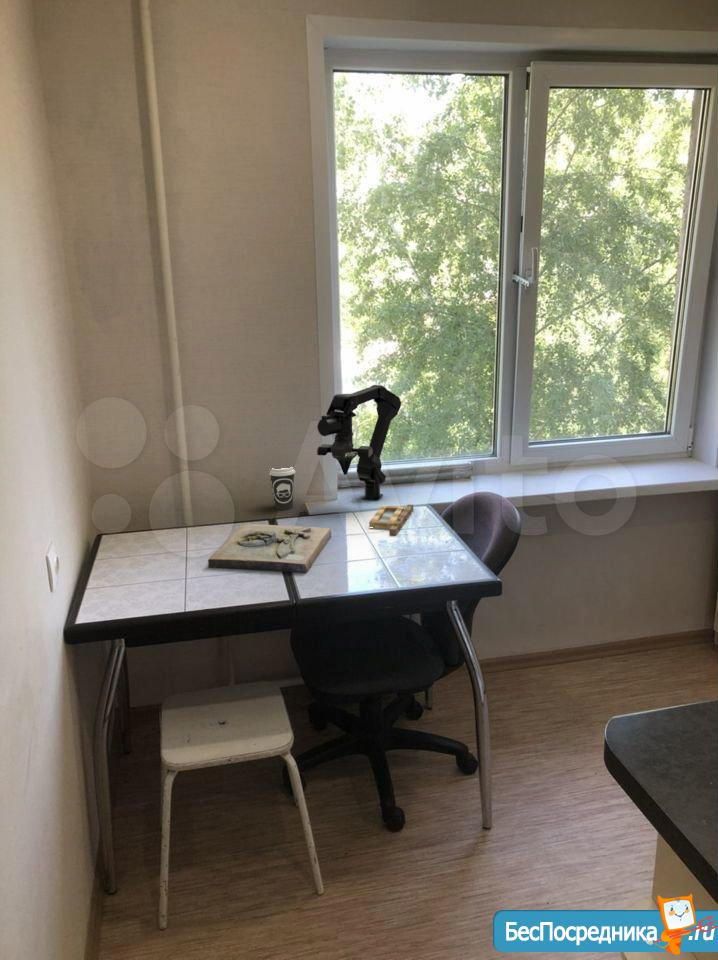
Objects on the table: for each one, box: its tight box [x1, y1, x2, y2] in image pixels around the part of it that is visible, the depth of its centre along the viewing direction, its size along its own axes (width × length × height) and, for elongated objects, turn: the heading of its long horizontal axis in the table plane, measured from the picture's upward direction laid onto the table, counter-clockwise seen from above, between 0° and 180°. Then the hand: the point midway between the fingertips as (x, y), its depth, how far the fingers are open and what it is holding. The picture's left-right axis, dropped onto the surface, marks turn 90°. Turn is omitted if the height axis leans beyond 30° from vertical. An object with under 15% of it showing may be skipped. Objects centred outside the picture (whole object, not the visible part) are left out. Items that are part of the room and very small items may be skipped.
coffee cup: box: [268, 466, 296, 511], centre depth 260 cm, size 10×10×15 cm
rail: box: [388, 504, 414, 536], centre depth 243 cm, size 26×2×3 cm, turn 163°
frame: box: [368, 505, 405, 530], centre depth 246 cm, size 18×8×2 cm, turn 165°
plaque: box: [207, 523, 332, 574], centre depth 220 cm, size 30×7×30 cm
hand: (345, 474), depth 257 cm, fingers closed
